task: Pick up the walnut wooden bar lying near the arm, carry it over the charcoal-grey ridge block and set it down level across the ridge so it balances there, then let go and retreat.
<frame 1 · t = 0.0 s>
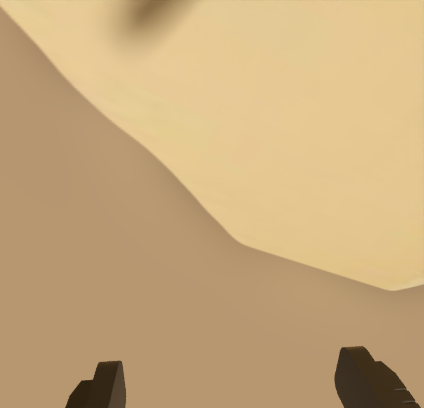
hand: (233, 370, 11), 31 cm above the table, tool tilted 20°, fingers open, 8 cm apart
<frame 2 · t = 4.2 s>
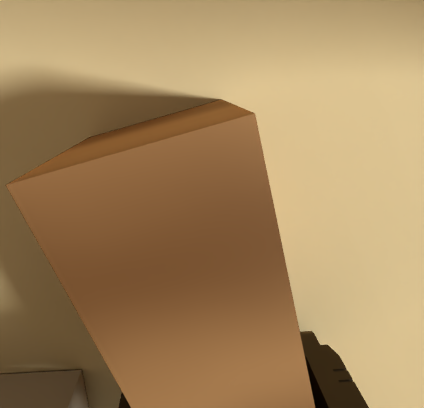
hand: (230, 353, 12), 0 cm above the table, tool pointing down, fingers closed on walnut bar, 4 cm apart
walnut bar: (228, 341, 12), on the table, touching gripper
when the fingers open (7 cm above the table, at t = 8.7 s): walnut bar stays where it is, resting on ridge.
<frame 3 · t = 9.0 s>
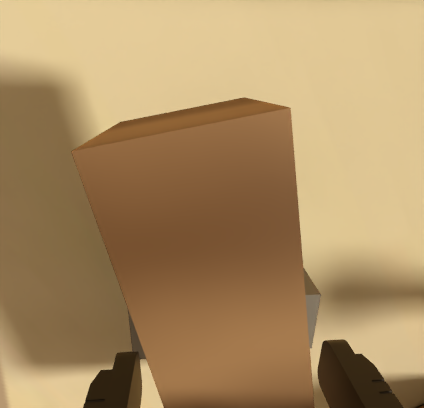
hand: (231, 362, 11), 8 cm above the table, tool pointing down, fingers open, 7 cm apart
walnut bar: (227, 325, 13), point 6 cm above the table, touching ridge
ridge: (213, 254, 19), on the table
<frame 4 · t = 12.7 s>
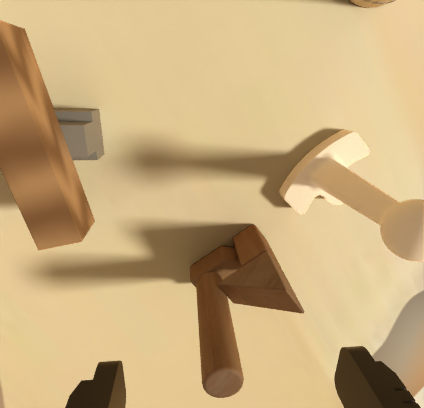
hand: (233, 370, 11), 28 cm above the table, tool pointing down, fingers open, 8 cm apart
walnut bar: (42, 140, 29), point 6 cm above the table, touching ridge
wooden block: (227, 252, 42), on the table
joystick: (322, 174, 39), on the table
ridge: (65, 132, 34), on the table
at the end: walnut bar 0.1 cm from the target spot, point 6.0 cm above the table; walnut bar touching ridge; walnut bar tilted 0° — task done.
